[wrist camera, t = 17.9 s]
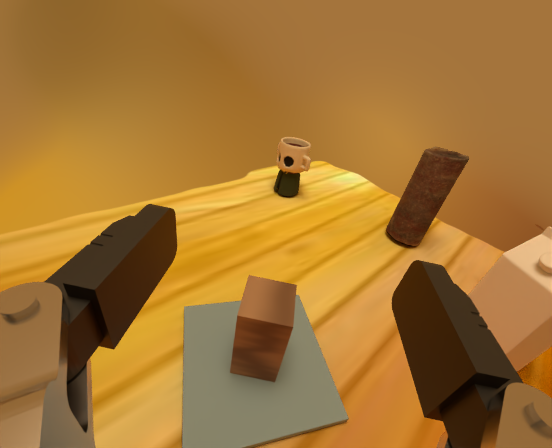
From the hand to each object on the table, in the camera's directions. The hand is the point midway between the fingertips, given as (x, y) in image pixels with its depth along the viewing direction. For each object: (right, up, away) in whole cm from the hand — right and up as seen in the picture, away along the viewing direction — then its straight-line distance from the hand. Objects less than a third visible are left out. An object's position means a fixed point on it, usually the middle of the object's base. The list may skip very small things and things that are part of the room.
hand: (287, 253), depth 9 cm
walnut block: (-3, -14, +22) cm, 26 cm away
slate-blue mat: (-3, -15, +22) cm, 27 cm away
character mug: (+2, +9, +59) cm, 60 cm away
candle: (+27, -2, +50) cm, 57 cm away
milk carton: (+28, -17, +29) cm, 43 cm away
